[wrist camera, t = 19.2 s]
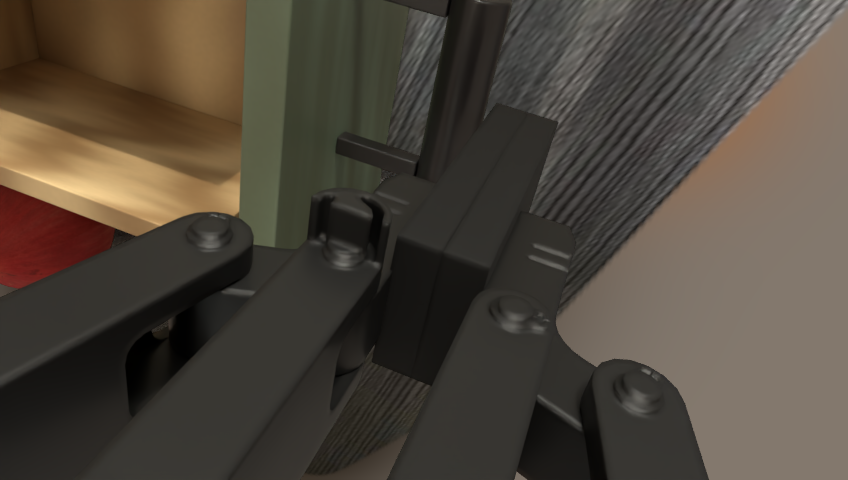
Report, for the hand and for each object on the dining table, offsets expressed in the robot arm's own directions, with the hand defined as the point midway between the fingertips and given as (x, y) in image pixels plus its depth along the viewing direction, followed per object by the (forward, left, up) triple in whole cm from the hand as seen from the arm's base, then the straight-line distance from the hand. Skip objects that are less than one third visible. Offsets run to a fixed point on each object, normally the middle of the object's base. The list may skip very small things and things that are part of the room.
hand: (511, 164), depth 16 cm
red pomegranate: (-13, +21, -9) cm, 26 cm away
